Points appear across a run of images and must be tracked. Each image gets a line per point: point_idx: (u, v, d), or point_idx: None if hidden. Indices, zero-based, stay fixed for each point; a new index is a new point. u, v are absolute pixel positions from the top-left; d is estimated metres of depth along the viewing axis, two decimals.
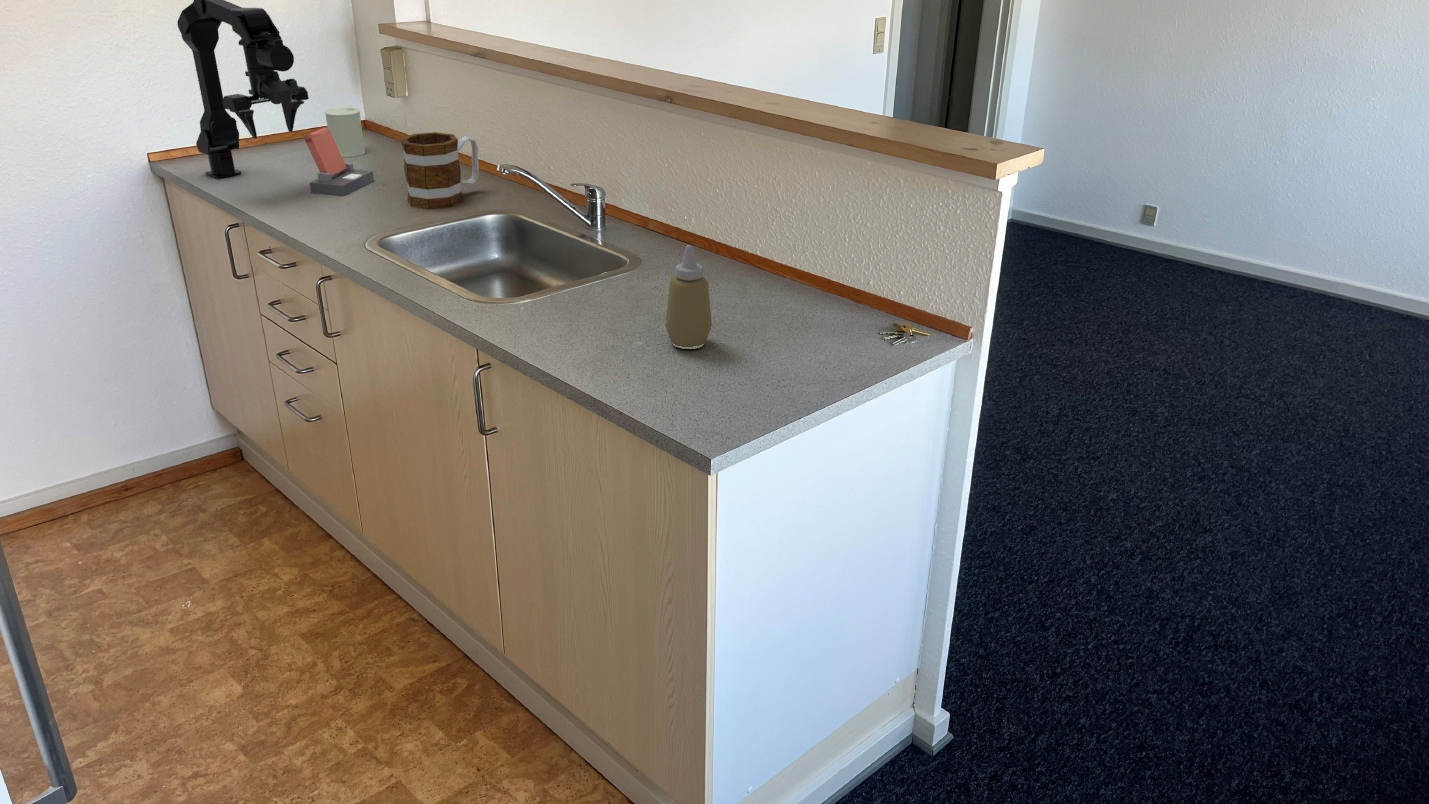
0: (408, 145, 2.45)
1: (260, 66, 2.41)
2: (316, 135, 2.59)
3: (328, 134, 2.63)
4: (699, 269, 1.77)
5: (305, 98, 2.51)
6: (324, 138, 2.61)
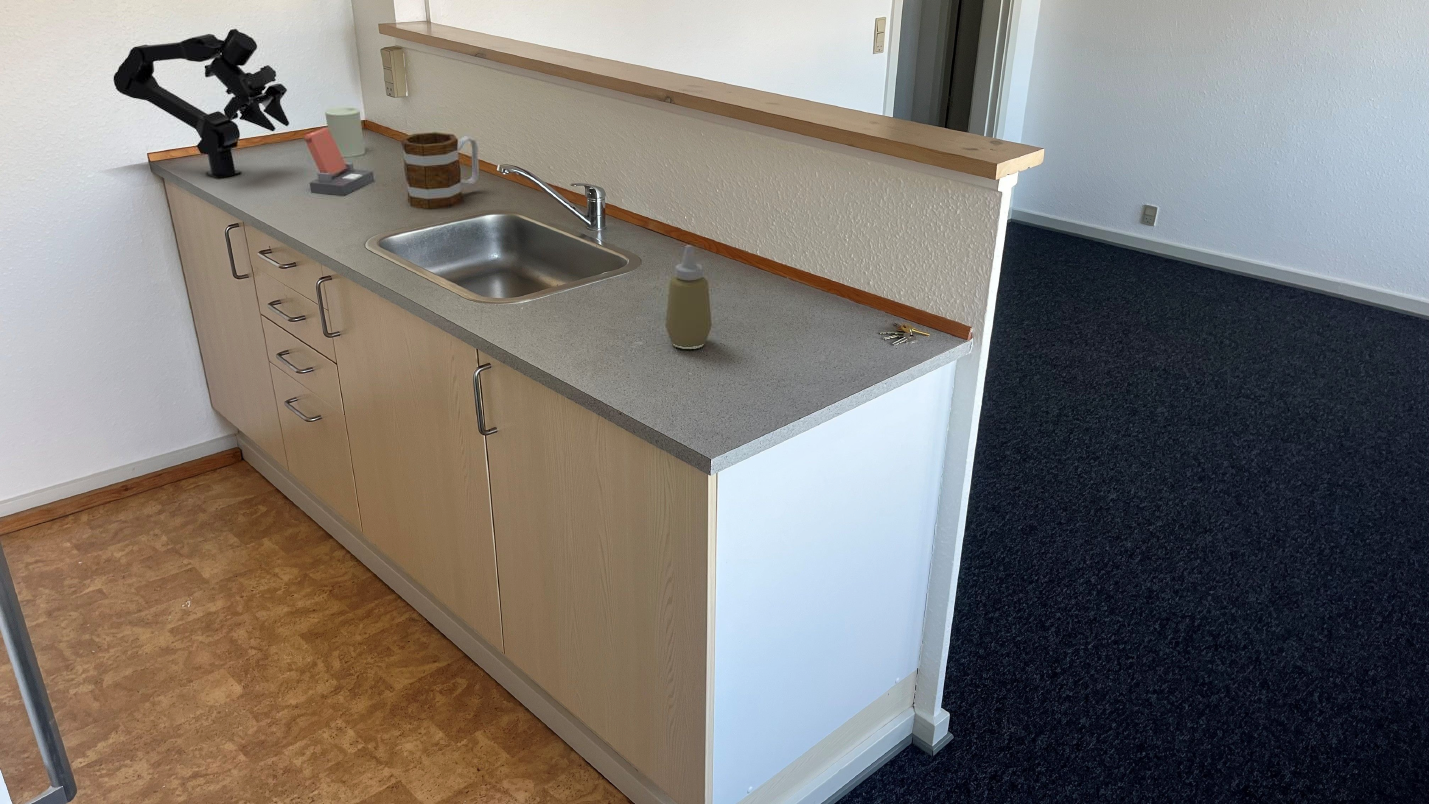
0: (408, 145, 2.45)
1: (234, 71, 2.57)
2: (316, 135, 2.59)
3: (328, 134, 2.63)
4: (699, 269, 1.77)
5: (284, 89, 2.66)
6: (324, 138, 2.61)
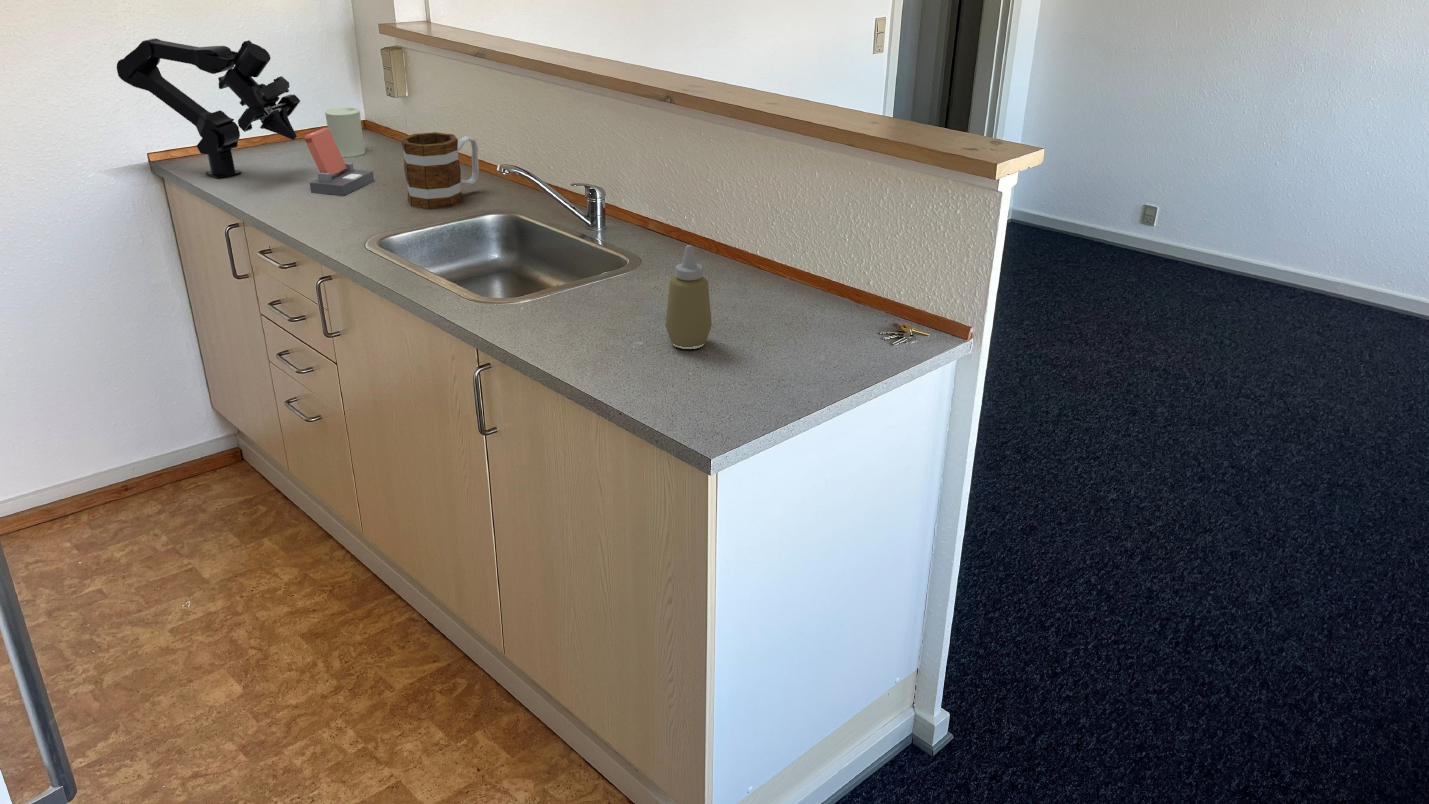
0: (408, 145, 2.45)
1: (247, 82, 2.57)
2: (316, 135, 2.59)
3: (328, 134, 2.63)
4: (699, 269, 1.77)
5: (297, 99, 2.67)
6: (324, 138, 2.61)
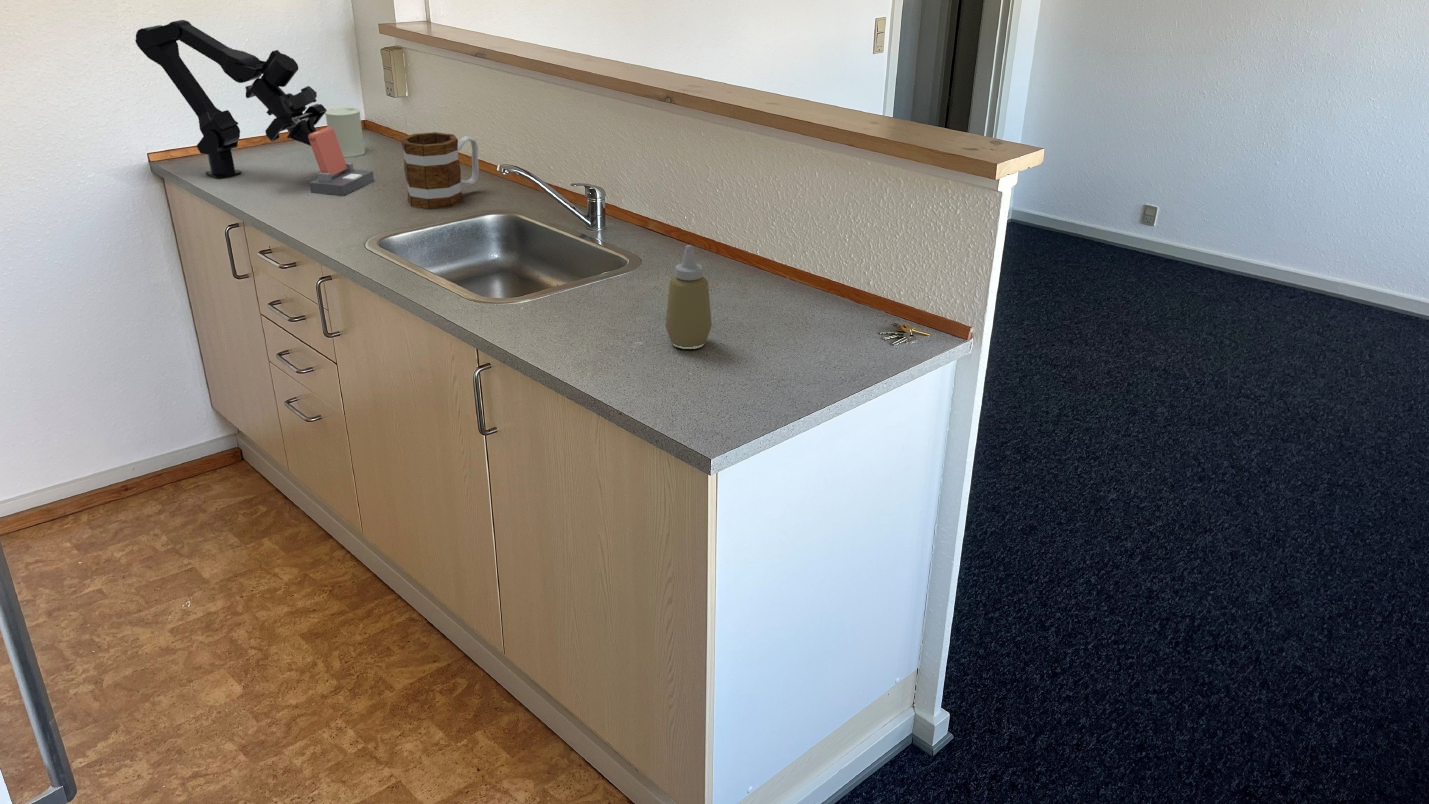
0: (408, 145, 2.45)
1: (275, 92, 2.56)
2: (320, 134, 2.58)
3: (332, 133, 2.62)
4: (699, 269, 1.77)
5: (324, 109, 2.66)
6: (327, 137, 2.61)
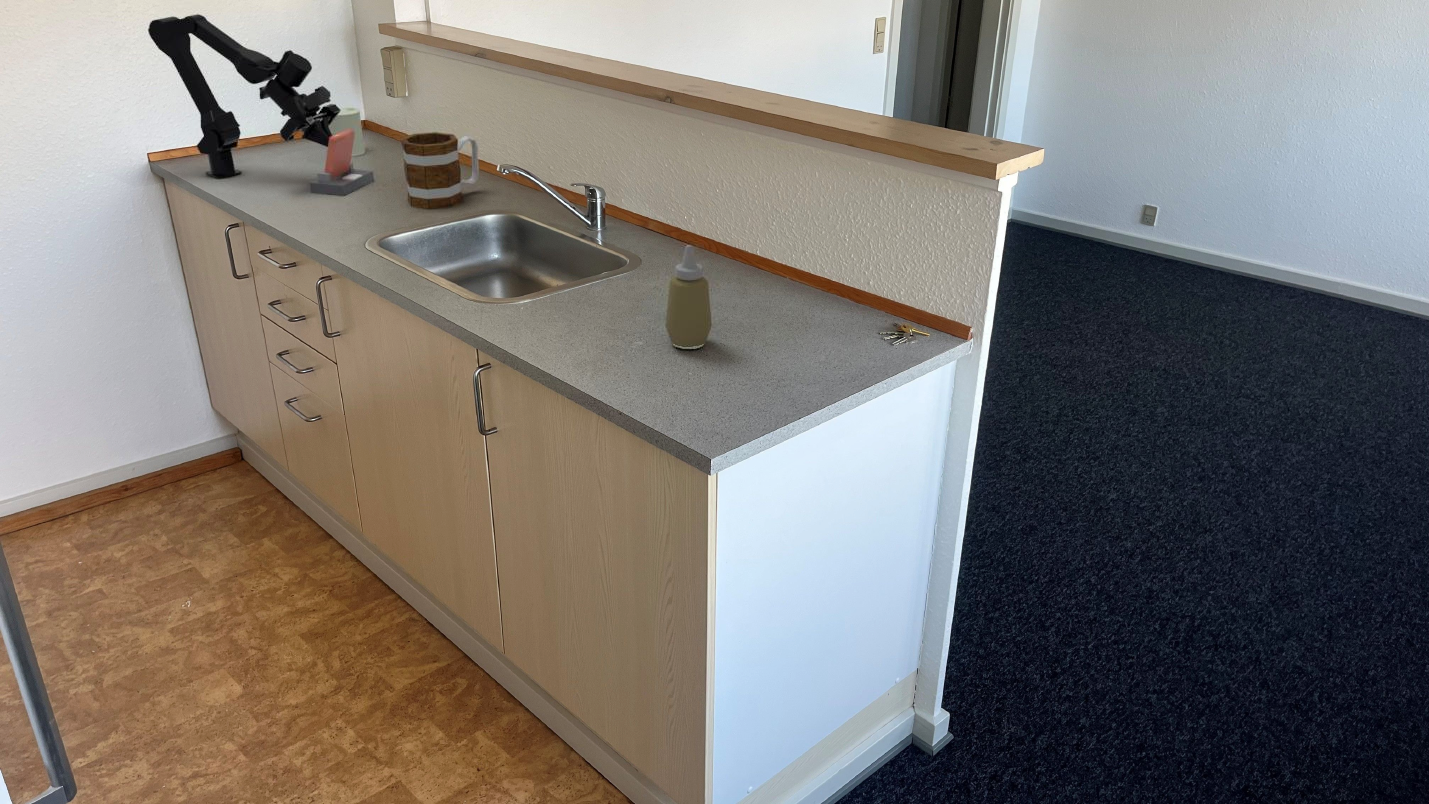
0: (408, 145, 2.45)
1: (289, 92, 2.56)
2: (341, 139, 2.57)
3: (351, 138, 2.62)
4: (699, 269, 1.77)
5: (338, 109, 2.65)
6: (346, 142, 2.60)
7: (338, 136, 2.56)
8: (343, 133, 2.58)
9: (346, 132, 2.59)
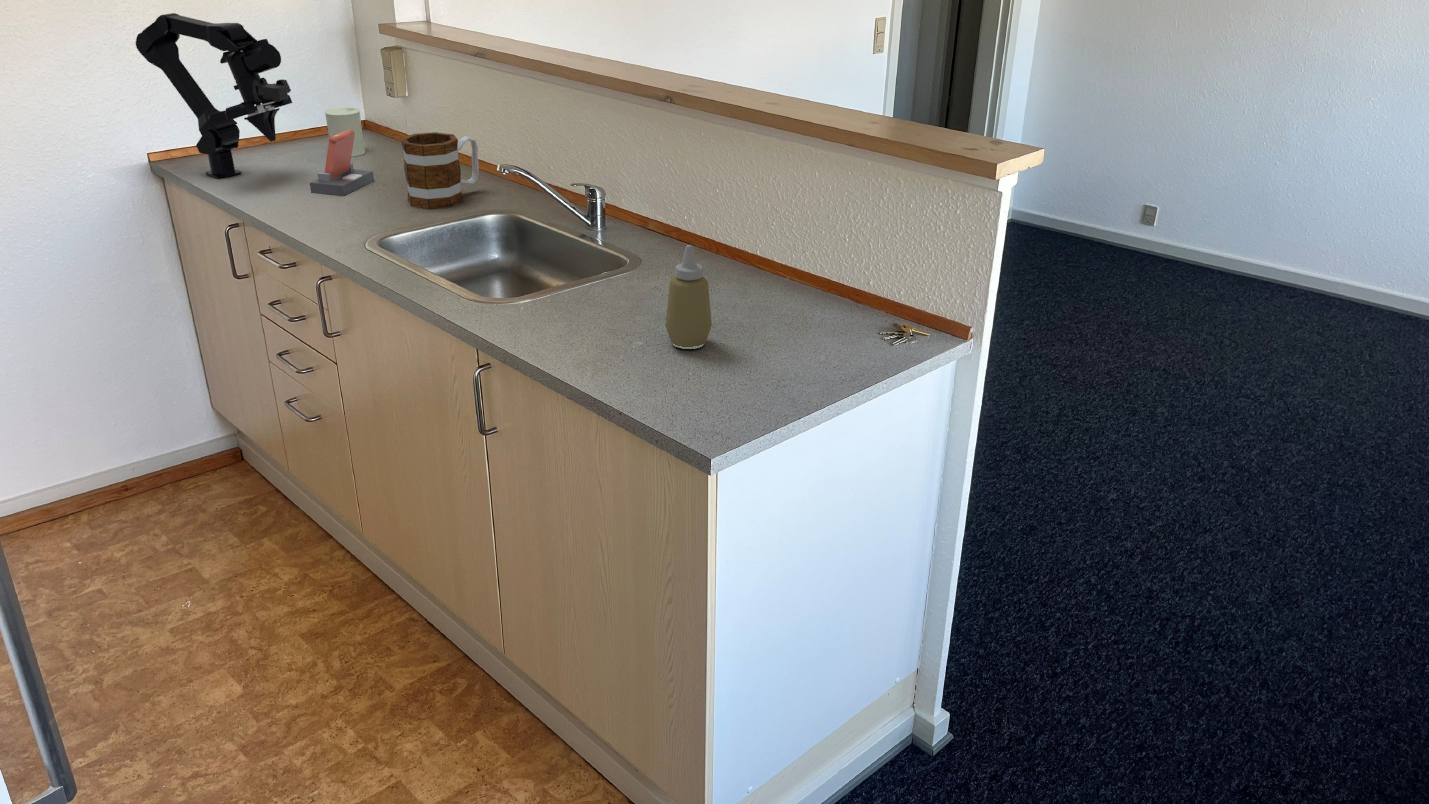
0: (408, 145, 2.45)
1: (249, 73, 2.54)
2: (341, 139, 2.57)
3: (351, 138, 2.62)
4: (699, 269, 1.77)
5: (290, 102, 2.65)
6: (346, 142, 2.60)
7: (338, 136, 2.56)
8: (343, 133, 2.58)
9: (346, 132, 2.59)
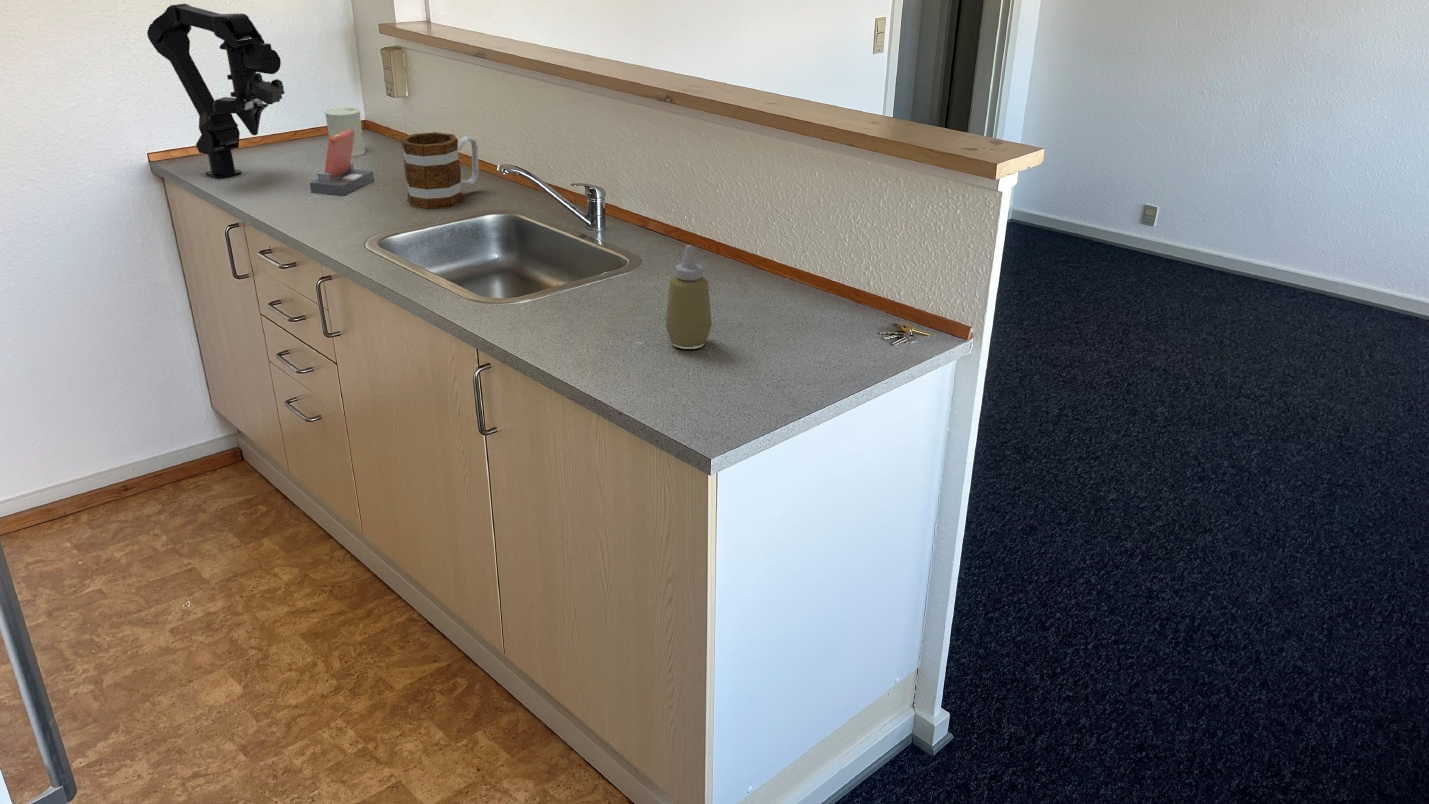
0: (408, 145, 2.45)
1: (245, 69, 2.52)
2: (341, 139, 2.57)
3: (351, 138, 2.62)
4: (699, 269, 1.77)
5: (280, 97, 2.64)
6: (346, 142, 2.60)
7: (338, 136, 2.56)
8: (343, 133, 2.58)
9: (346, 132, 2.59)
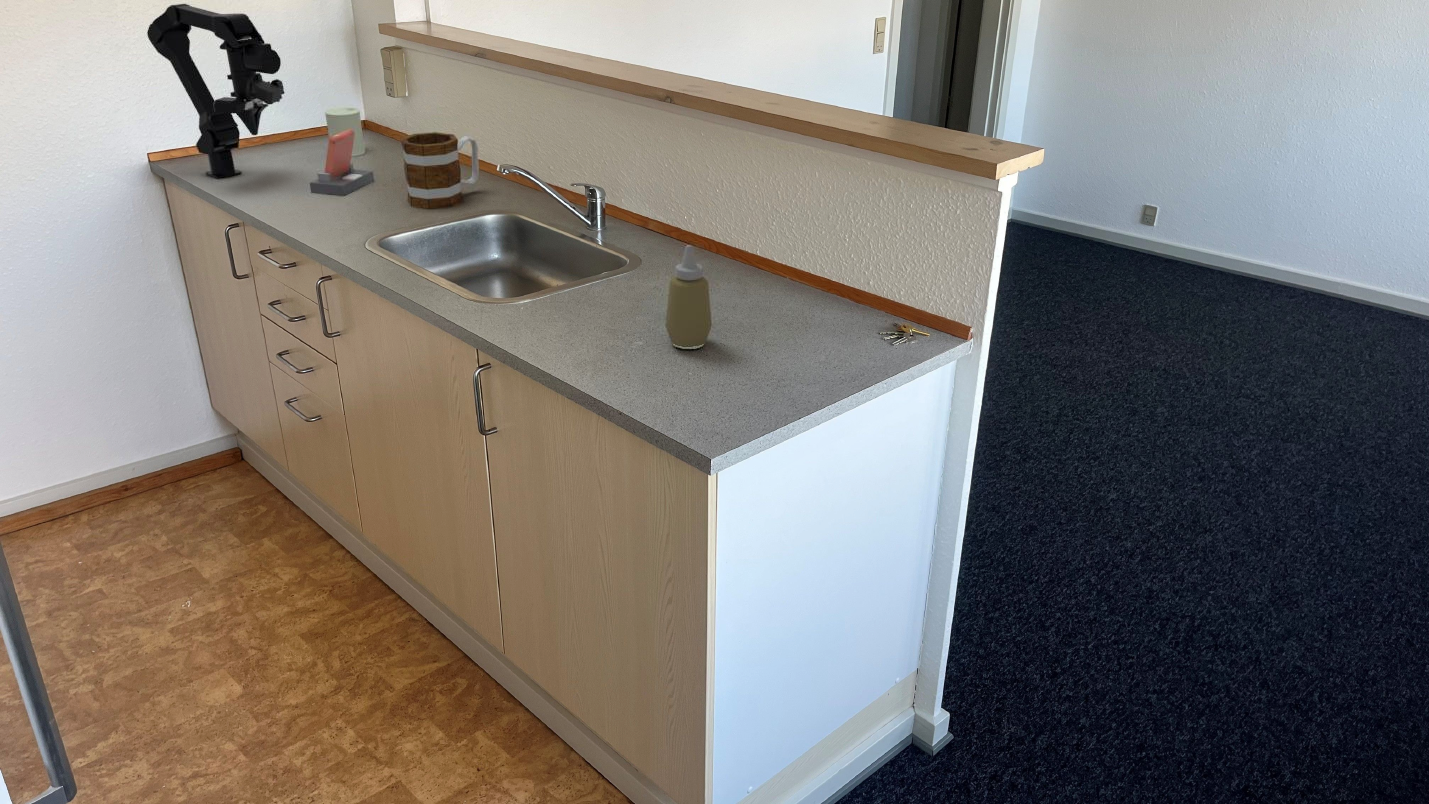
0: (408, 145, 2.45)
1: (245, 69, 2.52)
2: (341, 139, 2.57)
3: (351, 138, 2.62)
4: (699, 269, 1.77)
5: (280, 97, 2.64)
6: (346, 142, 2.60)
7: (338, 136, 2.56)
8: (343, 133, 2.58)
9: (346, 132, 2.59)
